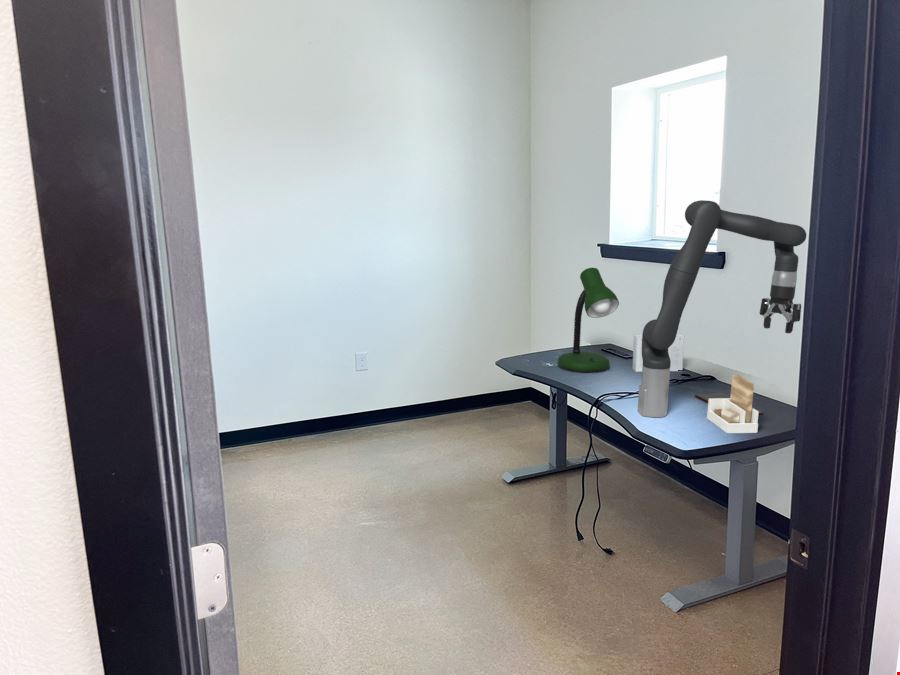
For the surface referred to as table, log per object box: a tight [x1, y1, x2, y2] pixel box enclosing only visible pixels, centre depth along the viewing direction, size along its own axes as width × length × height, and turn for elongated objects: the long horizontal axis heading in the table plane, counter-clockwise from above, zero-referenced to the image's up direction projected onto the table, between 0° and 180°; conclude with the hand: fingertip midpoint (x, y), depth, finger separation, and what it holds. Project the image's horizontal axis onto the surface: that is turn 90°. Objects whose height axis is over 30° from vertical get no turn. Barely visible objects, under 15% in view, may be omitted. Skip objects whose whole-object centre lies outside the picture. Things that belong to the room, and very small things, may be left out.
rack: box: [706, 398, 759, 434], centre depth 218 cm, size 10×15×7 cm, turn 3°
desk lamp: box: [557, 267, 620, 374], centre depth 286 cm, size 31×23×45 cm
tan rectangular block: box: [730, 374, 755, 423], centre depth 217 cm, size 2×11×16 cm, turn 3°
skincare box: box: [632, 333, 685, 373], centre depth 287 cm, size 21×6×16 cm, turn 92°
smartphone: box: [694, 391, 765, 416], centre depth 240 cm, size 12×2×25 cm
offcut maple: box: [721, 408, 740, 422], centre depth 216 cm, size 3×5×3 cm
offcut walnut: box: [714, 409, 722, 417], centre depth 222 cm, size 3×3×4 cm
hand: (777, 330), depth 226 cm, fingers open, 8 cm apart
